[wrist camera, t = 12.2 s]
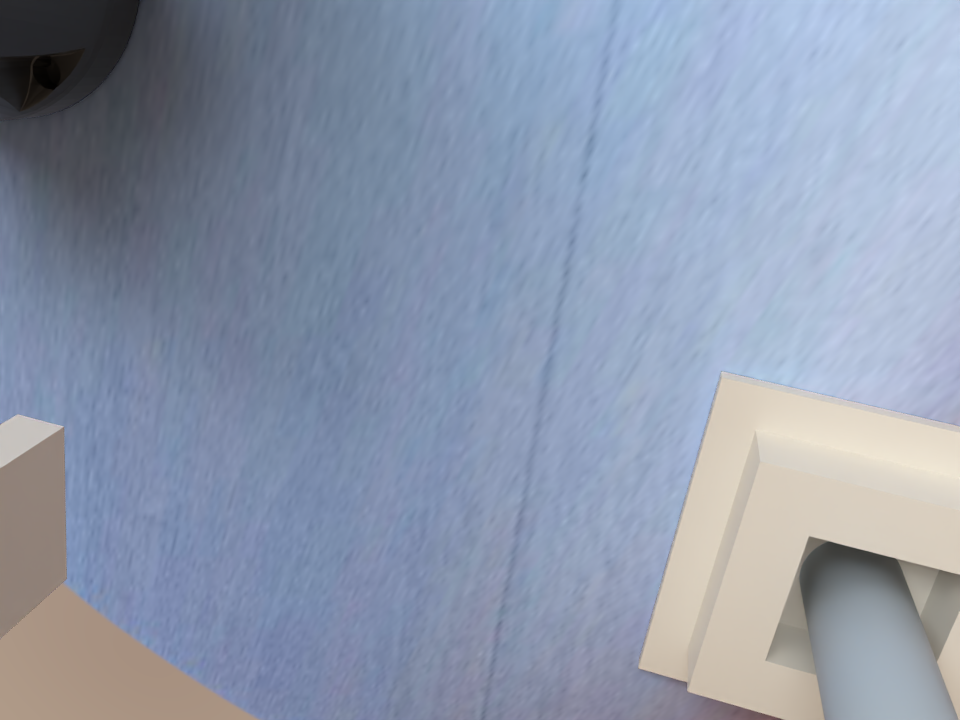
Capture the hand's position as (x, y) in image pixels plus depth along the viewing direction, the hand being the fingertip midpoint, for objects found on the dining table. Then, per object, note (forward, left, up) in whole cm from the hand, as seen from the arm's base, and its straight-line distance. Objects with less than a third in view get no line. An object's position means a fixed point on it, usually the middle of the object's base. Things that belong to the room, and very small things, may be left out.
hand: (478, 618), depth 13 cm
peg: (+13, -13, -27) cm, 33 cm away
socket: (+13, -13, -28) cm, 34 cm away
